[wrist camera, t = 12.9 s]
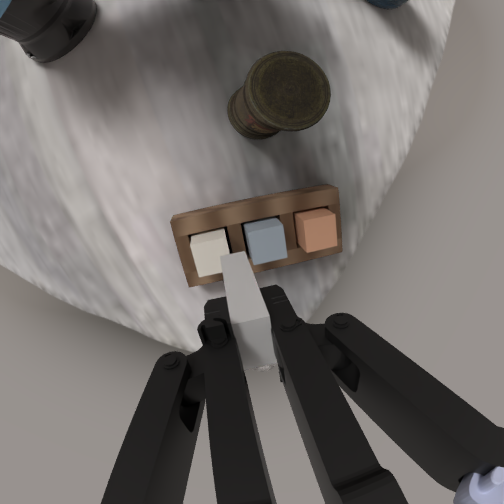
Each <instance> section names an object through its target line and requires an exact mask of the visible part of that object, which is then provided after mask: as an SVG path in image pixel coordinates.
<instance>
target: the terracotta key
mask: <svg viewBox="0 0 504 504" xmlns="http://www.w3.org/2000/svg"><path fill="white" fill-rule="evenodd" d="M292 213H293V221H294V229H295V237H296V242H297V243H298V244H299V245H300V246H301V247H302V248H303V249H304V250H305V251H306V252H307V253H309V252H313V251H317V250H322V249H326V248H330V247H334V246H337V231H336V217H335V214H334V213H332V212H331V211H329V210H327V209H325V208H323V207H322V206H321V207H316V208H311V209H306V210H301V211H296V212H292Z"/></svg>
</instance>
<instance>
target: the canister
mask: <svg viewBox="0 0 504 504" xmlns="http://www.w3.org/2000/svg"><path fill="white" fill-rule="evenodd" d="M367 1H368V2H370V3H371V4H373V5H375V6H377V7H380V8H384V9H392V8H397V7H399V6H401V5H402V4H403V3H405V2H407V1H409V0H367Z"/></svg>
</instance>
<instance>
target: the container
mask: <svg viewBox="0 0 504 504" xmlns="http://www.w3.org/2000/svg"><path fill="white" fill-rule="evenodd" d="M330 96H331V94H330V85H329V82H328V79H327V77H326V75H325V73H324V72H323V70H322V69H321V68H320V67H319V66H318V65H317V64H316V63H315V62H314V61H313V60H311V59H310V58H308V57H306V56H305V55H302V54H300V53H296V52H292V51H278V52H273V53H270V54H268V55H265V56H263V57H262V58H260V59H259V60H258V61H257V62H256V63H255V64H254V65H253V66H252V68H251V69H250V71H249V73H248V75H247V79H246V81H245V84H244V86H243V87H242V88H240V89H239V90H237V91H236V92H235V93H234V94H233V96H232V97H231V98H230V100H229V103H228V117H229V120H230V122H231V124H232V125H233V127H234V128H235V129H236V130H237V131H238V132H239V133H241V134H242V135H244V136H246V137H248V138H252V139H265V138H269V137H271V136H273V135H275V134H277V133H278V132H279V131H281V130H284V131H299V130H304V129H307V128H309V127H311V126H313V125H314V124H316V123H317V122H318V121H319V120H320V119H321V118H322V117H323V116H324V114H325V113H326V111H327V109H328V106H329V103H330Z"/></svg>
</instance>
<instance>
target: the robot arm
mask: <svg viewBox="0 0 504 504" xmlns="http://www.w3.org/2000/svg"><path fill="white" fill-rule="evenodd" d="M95 16H96V4H95V2H94V0H0V35H3V36H5V37H8V38H10V39H13V40H15V41H17V42H19V44H20V45H21V47H22V49H23V50H24V52H25V53H26V55H27V56H28V57H29V58H31V59H33V60H36V61H38V62H50V61H53V60H56V59H58V58H60V57H62V56H63V55H65V54H66V53H68V52H69V51H71V50H72V49H73V48H74V47H75V46H76V45H77V44H78V43H79V42H80V41H81V40H82V39H83V38H84V37H85V35H86V34H87V33H88V31H89V29H90V28H91V26H92V24H93V22H94V19H95ZM220 259H221V266H222V272H223V279H224V285H225V291H226V297H221V298H216V299H211V300H208V301H207V303H206V304H205V306H204V313H205V314H204V315H205V320H203V321H202V322H201V323H200V324H199V325H198V329H197V330H198V333H199V336H200V339H201V342H202V344H203V346H202V347H201V348H200V349H199V350H198V351H196V352H194V353H192V354H190V355H187V356H185V355H184V354H183V353H181V352H176V351H175V352H169V353H166V354H164V355H162V356H161V357H160V358H159V359H158V360H157V362H156V364H155V366H154V368H153V371H152V373H151V376H150V378H149V380H148V382H147V385H146V387H145V389H144V392H143V394H142V397H141V399H140V401H139V404H138V406H137V409H136V411H135V414H134V416H133V418H132V421H131V423H130V426H129V428H128V431H127V434H126V436H125V439H124V441H123V444H122V446H121V449H120V452H119V454H118V457H117V459H116V462H115V465H114V468H113V470H112V473H111V476H110V479H109V481H108V484H107V487H106V490H105V493H104V496H103V499H102V502H101V504H183V500H184V495H185V491H186V486H187V481H188V476H189V472H190V467H191V463H192V459H193V454H194V450H195V445H196V441H197V436H198V432H199V427H200V422H201V418H202V414H203V410H204V405H205V399H206V406H207V418H208V430H209V440H210V450H211V458H212V467H213V475H214V483H215V491H216V498H217V504H277V503H276V500H275V496H274V493H273V488H272V485H271V481H270V477H269V474H268V469H267V465H266V461H265V458H264V453H263V449H262V445H261V441H260V437H259V433H258V428H257V424H256V420H255V416H254V411H253V407H252V402H251V398H250V394H249V389H248V384H247V380H246V376H245V373H244V370H248V369H253V368H258V367H262V366H266V365H270V364H274V363H277V362H278V367H279V374H280V381H281V382H283V384H284V387H285V390H286V393H287V396H288V399H289V402H290V405H291V407H292V410H293V414H294V416H295V419H296V422H297V425H298V428H299V431H300V434H301V437H302V439H303V442H304V445H305V448H306V450H307V453H308V456H309V459H310V462H311V465H312V468H313V470H314V473H315V476H316V479H317V482H318V484H319V487H320V490H321V493H322V496H323V498H324V501H325V504H408V502H407V500H406V498H405V497H404V494H403V492H402V490H401V488H400V487H399V485H398V483H397V481H396V479H395V477H394V476H393V474H392V473H391V472H390V471H389V470H386V469H384V468H382V467H381V466H380V464H379V463H378V460H377V459H376V456H375V455H374V453H373V451H372V449H371V447H370V445H369V443H368V441H367V439H366V437H365V435H364V433H363V431H362V429H361V427H360V425H359V423H358V421H357V420H356V418H355V416H354V414H353V412H352V410H351V408H350V406H349V404H348V402H347V401H346V398H345V397H344V395H343V393H342V391H341V389H340V387H341V388H342V389H343V390H344V391H345V392H346V393H347V394H348V395H349V396H350V398H352V399H353V401H354V402H355V403H356V404H357V405H358V406H359V407H360V408H361V409H362V410H363V411H364V412H365V413H366V414H367V415H368V416H369V417H370V418H371V419H372V420H373V421H374V422H375V423H376V424H377V425H378V426H379V427H380V428H381V429H382V430H383V431H384V432H385V433H386V434H387V435H388V436H389V437H390V438H391V439H392V440H393V441H394V442H395V443H396V444H397V445H398V446H399V447H400V448H401V449H402V450H403V451H404V452H405V453H406V454H407V455H408V456H409V457H410V458H412V459H413V460H414V461H415V462H416V463H417V464H418V465H419V466H420V467H421V468H422V469H423V470H424V471H425V472H426V473H427V474H428V475H429V476H431V477H432V478H433V479H434V480H435V481H436V482H438V483H439V484H441V485H442V486H444V487H446V488H447V489H449V490H452V491H454V492H456V494H455V497H454V500H453V502H454V504H504V428H502V427H498V426H496V425H495V424H494V423H492V422H491V421H490V420H488V419H487V418H486V417H485V416H483V415H482V414H481V413H480V412H478V411H477V410H476V409H474V408H473V407H472V406H471V405H469V404H468V403H467V402H465V401H464V400H463V399H462V398H460V397H459V396H458V395H456V394H455V393H454V392H453V391H451V390H450V389H449V388H447V387H446V386H445V385H443V384H442V383H441V382H440V381H438V380H437V379H436V378H434V377H433V376H432V375H430V374H429V373H428V372H426V371H425V370H424V369H423V368H421V367H420V366H419V365H417V364H416V363H415V362H413V361H412V360H411V359H410V358H408V357H407V356H405V355H404V354H403V353H402V352H400V351H399V350H398V349H396V348H395V347H394V346H392V345H391V344H390V343H388V342H387V341H386V340H384V339H383V338H382V337H380V336H379V335H378V334H377V333H375V332H374V331H372V330H371V329H370V328H369V327H367V326H366V325H365V324H363V323H362V322H360V321H359V320H358V319H356V318H355V317H353V316H352V315H350V314H347V313H336V314H333V315H331V316H329V317H328V318H327V319H326V321H325V324H308V323H305V322H304V321H303V320H302V318H299V317H297V315H296V313H295V311H294V309H293V307H292V305H291V304H290V302H289V300H288V298H287V296H286V294H285V292H284V290H283V289H282V288H281V287H279V286H278V285H272V286H268V287H263V288H259V287H258V284H257V282H256V279H255V276H254V274H253V271H252V268H251V266H250V263H249V261H248V258H247V255H246V253H245V251H242V252H238V253H233V254H228V255H224V256H220ZM276 359H277V361H276ZM339 386H340V387H339Z"/></svg>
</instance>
